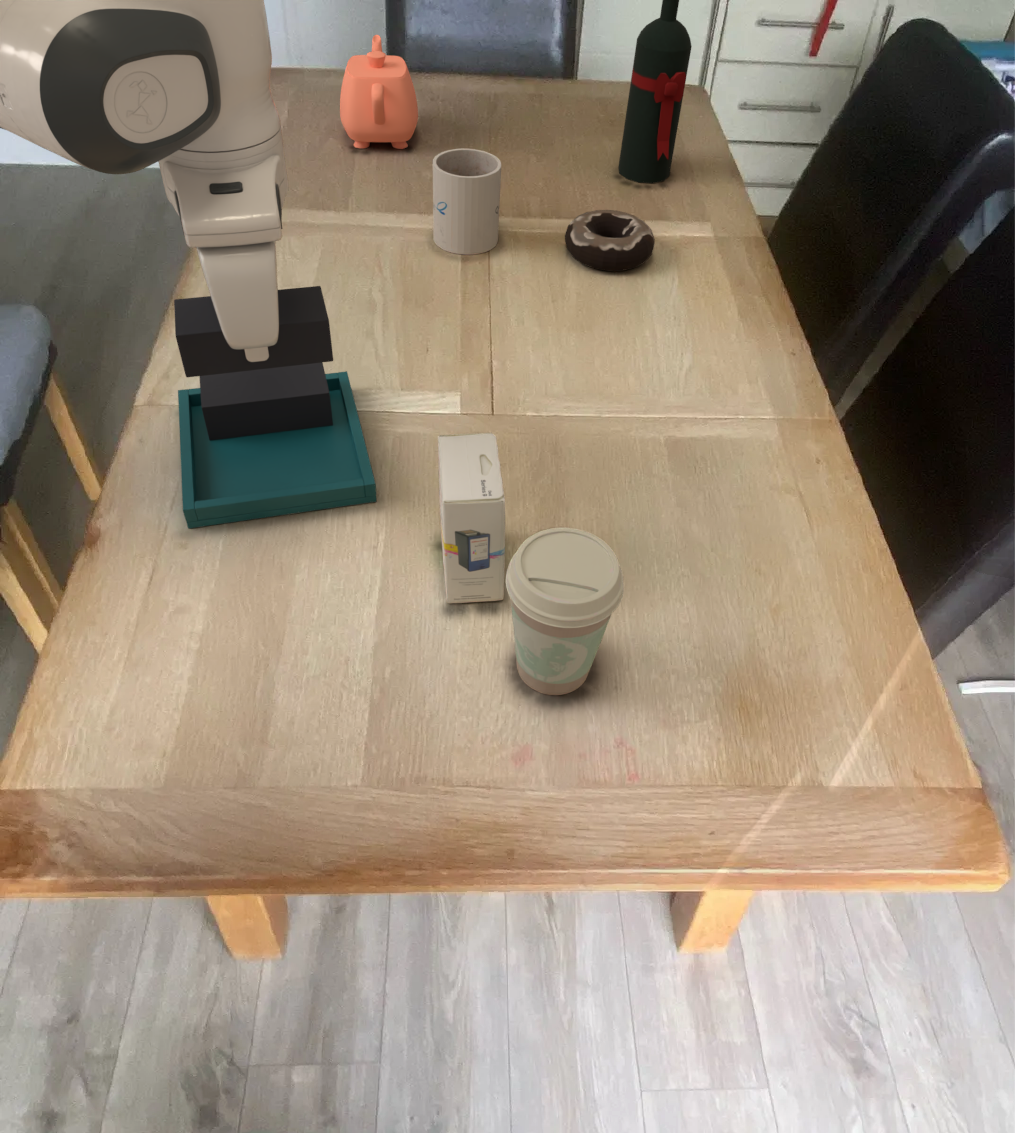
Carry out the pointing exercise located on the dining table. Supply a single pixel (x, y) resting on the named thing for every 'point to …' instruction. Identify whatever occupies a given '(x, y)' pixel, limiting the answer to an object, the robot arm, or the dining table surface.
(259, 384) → the black rectangular block
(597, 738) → the dining table surface
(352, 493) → the teal tray
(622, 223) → the donut
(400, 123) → the teapot
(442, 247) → the mug
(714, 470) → the dining table surface
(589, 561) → the coffee cup
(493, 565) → the ink box
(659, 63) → the wine bottle
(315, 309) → the loose pad
